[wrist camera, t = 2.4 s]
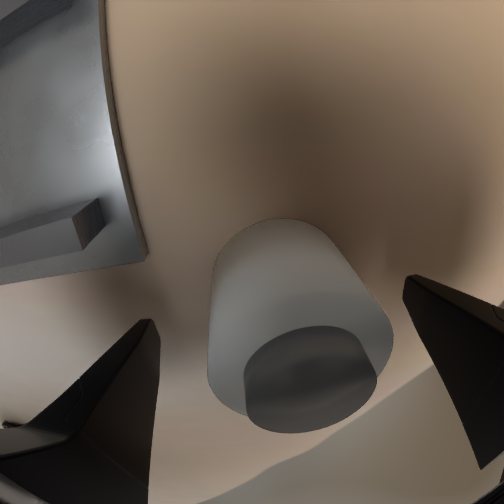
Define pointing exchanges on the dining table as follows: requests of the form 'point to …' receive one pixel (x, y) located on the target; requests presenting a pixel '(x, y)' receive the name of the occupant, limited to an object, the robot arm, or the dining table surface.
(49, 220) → the cradle
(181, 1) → the dining table surface
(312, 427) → the grey capped cylinder
